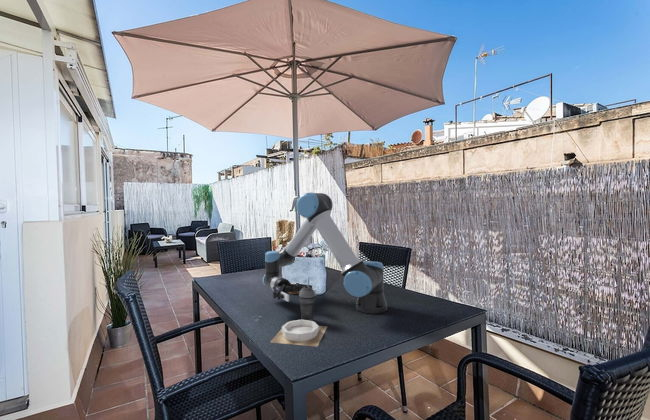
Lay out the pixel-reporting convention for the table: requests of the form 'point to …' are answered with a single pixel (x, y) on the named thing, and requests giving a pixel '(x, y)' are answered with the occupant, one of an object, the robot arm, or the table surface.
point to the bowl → (300, 330)
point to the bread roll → (294, 292)
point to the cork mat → (313, 342)
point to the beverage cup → (307, 302)
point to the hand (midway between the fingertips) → (301, 295)
